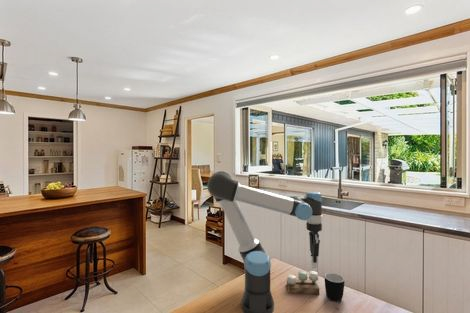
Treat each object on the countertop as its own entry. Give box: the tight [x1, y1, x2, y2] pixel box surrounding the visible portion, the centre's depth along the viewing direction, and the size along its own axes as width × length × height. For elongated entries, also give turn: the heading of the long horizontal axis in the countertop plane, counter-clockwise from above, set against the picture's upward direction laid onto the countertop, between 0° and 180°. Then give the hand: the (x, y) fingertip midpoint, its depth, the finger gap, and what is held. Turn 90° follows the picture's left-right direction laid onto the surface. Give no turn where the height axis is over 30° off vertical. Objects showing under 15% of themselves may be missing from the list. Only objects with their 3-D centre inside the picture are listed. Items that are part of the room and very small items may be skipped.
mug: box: [324, 272, 345, 302], centre depth 123 cm, size 12×9×10 cm
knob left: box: [286, 274, 297, 285], centre depth 129 cm, size 4×4×5 cm
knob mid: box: [297, 270, 308, 284], centre depth 129 cm, size 4×4×5 cm
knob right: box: [308, 270, 319, 284], centre depth 128 cm, size 4×4×5 cm
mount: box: [286, 278, 320, 295], centre depth 129 cm, size 15×8×3 cm, turn 86°
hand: (314, 267), depth 128 cm, fingers closed
